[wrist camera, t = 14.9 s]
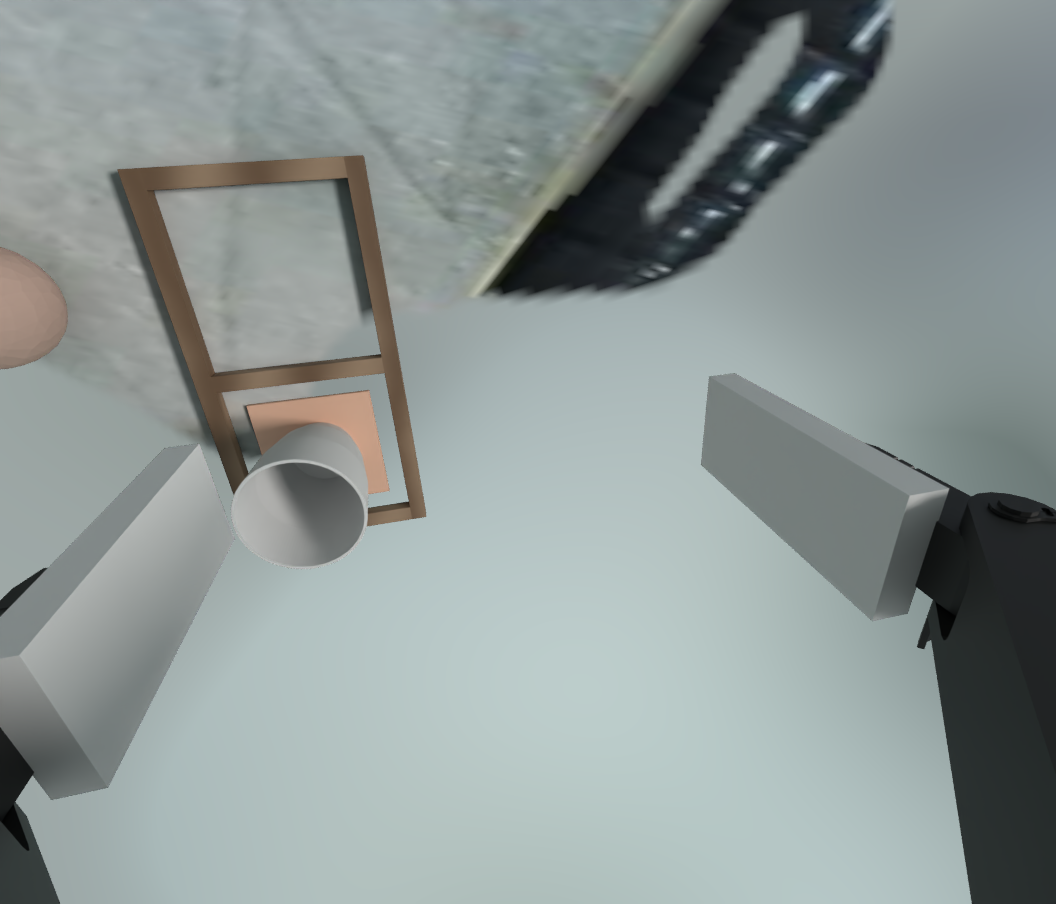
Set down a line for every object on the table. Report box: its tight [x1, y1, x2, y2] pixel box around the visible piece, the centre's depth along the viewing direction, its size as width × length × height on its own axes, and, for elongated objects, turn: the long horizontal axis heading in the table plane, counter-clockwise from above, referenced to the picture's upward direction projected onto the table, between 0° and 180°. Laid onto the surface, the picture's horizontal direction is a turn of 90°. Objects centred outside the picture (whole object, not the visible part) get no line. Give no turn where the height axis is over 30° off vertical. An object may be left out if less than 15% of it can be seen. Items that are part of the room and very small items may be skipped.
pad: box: [247, 390, 389, 494], centre depth 43 cm, size 9×9×1 cm
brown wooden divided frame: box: [117, 155, 426, 526], centre depth 40 cm, size 14×28×1 cm, turn 4°
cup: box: [231, 422, 368, 569], centre depth 38 cm, size 8×8×10 cm
